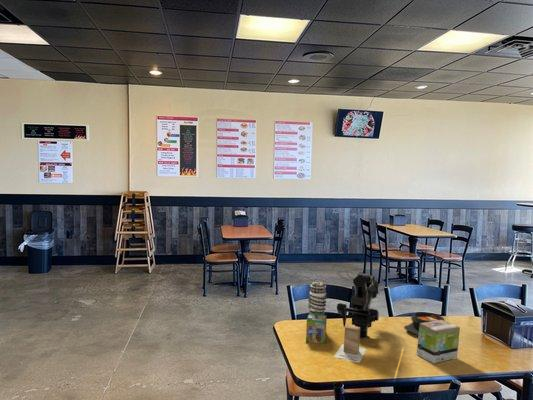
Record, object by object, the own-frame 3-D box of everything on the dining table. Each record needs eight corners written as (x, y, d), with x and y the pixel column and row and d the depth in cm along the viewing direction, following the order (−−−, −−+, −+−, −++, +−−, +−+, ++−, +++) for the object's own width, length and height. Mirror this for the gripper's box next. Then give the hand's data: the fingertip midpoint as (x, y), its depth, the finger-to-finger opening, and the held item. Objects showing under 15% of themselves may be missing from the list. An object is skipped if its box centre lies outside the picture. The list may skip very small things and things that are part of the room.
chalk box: (325, 345, 185) (326, 314, 184) (305, 343, 187) (307, 312, 186) (326, 338, 194) (327, 308, 193) (307, 335, 196) (308, 306, 195)
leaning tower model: (327, 334, 198) (330, 285, 197) (310, 335, 196) (312, 285, 195) (321, 327, 207) (323, 280, 206) (304, 328, 205) (306, 280, 204)
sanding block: (345, 348, 181) (346, 324, 180) (358, 351, 178) (360, 327, 178) (343, 351, 177) (344, 327, 176) (357, 354, 175) (358, 330, 174)
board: (342, 345, 186) (342, 343, 186) (366, 350, 181) (366, 348, 181) (333, 359, 171) (333, 357, 171) (359, 365, 167) (359, 363, 167)
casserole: (433, 323, 221) (434, 309, 221) (460, 337, 204) (461, 320, 203) (396, 328, 212) (397, 312, 212) (421, 342, 195) (422, 325, 194)
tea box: (434, 364, 171) (437, 330, 170) (416, 354, 180) (418, 322, 179) (458, 358, 178) (460, 326, 177) (439, 349, 187) (441, 318, 186)
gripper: (338, 286, 188) (331, 316, 179) (379, 292, 180) (373, 324, 171) (341, 298, 196) (334, 327, 186) (381, 304, 188) (375, 335, 179)
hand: (354, 328), depth 180 cm, fingers open, 9 cm apart
